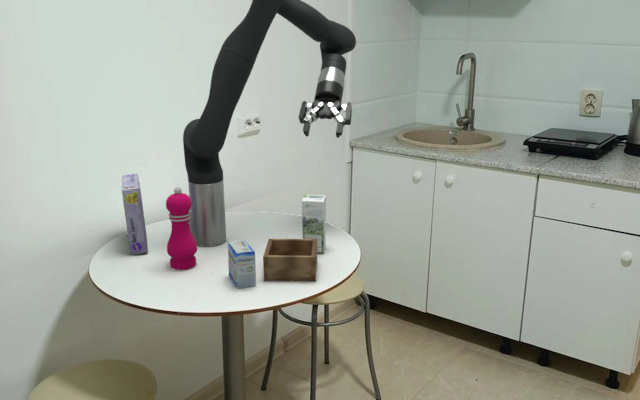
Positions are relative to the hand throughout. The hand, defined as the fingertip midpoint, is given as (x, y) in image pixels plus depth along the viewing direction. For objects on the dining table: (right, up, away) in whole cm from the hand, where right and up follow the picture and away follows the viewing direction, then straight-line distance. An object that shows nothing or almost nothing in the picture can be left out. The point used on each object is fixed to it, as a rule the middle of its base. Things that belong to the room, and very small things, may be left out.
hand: (321, 135), depth 158 cm
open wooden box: (-7, -34, -16) cm, 39 cm away
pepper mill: (-34, -34, -12) cm, 50 cm away
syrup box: (-2, -31, -3) cm, 31 cm away
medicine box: (-19, -36, -21) cm, 46 cm away
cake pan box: (-50, -29, +3) cm, 58 cm away
